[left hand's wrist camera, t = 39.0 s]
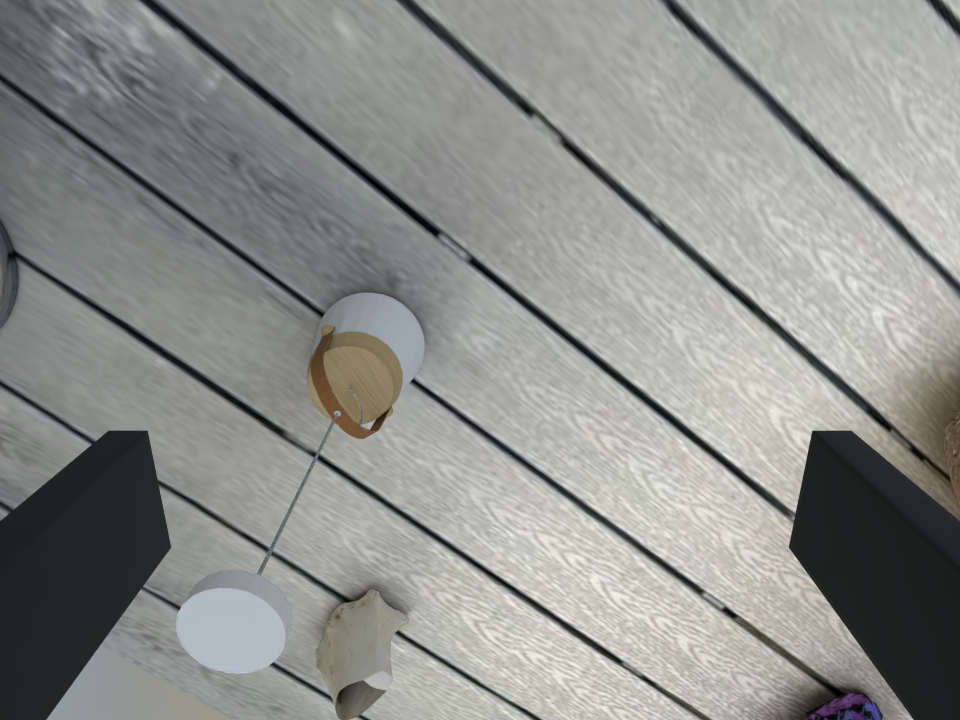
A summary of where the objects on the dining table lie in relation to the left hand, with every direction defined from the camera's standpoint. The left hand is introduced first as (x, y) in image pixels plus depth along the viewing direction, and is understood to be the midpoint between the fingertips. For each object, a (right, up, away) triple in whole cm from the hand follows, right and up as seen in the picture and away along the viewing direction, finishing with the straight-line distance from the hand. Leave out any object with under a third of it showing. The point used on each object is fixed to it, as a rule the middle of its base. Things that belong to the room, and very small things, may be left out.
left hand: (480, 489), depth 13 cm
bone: (-11, -21, +46) cm, 52 cm away
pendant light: (-8, +4, +37) cm, 38 cm away
